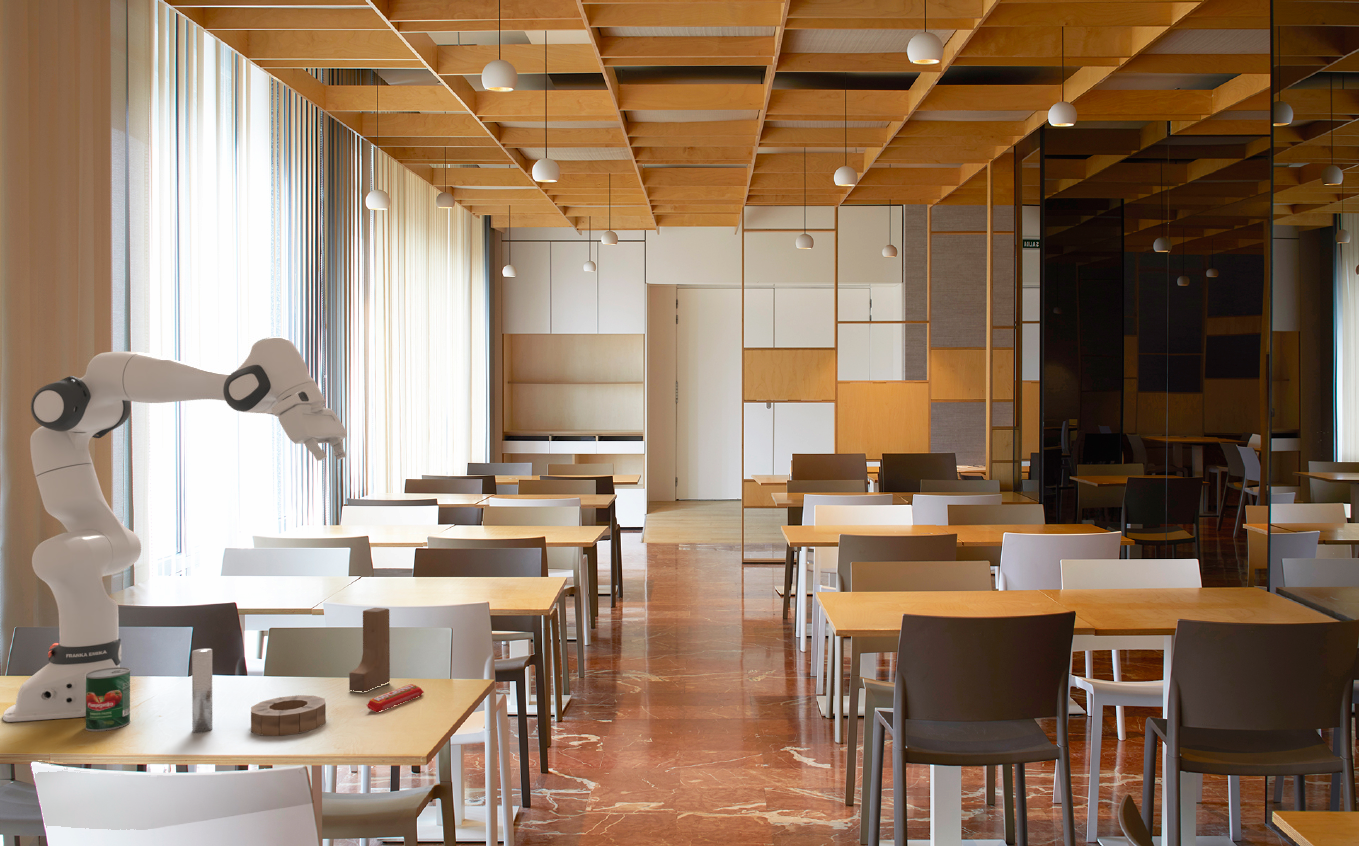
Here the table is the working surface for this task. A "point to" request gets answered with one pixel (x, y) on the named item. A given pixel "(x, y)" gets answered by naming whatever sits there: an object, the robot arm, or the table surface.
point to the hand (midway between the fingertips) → (332, 458)
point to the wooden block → (373, 652)
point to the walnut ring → (288, 715)
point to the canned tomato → (107, 699)
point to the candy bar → (394, 697)
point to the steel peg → (201, 690)
